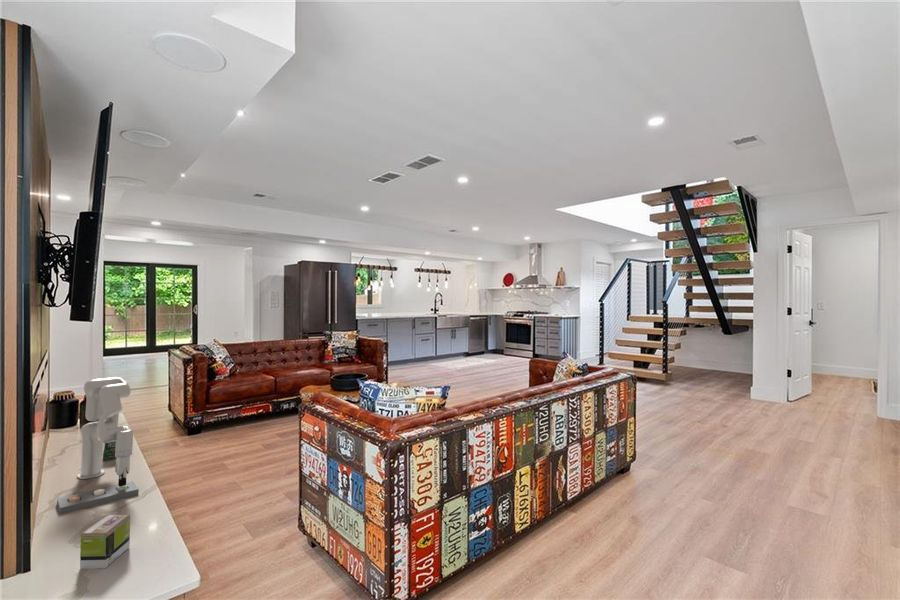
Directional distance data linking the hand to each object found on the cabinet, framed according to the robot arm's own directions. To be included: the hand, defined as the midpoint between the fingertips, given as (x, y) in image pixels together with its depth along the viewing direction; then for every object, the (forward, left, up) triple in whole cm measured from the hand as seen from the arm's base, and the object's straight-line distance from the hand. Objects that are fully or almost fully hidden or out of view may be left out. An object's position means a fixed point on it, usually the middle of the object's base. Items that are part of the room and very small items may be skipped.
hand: (122, 485), depth 235 cm
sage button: (0, 0, -4) cm, 4 cm away
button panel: (0, -10, -4) cm, 11 cm away
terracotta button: (0, -20, -4) cm, 20 cm away
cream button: (0, -10, -3) cm, 10 cm away
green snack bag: (-66, +6, -5) cm, 66 cm away
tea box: (+66, -17, -5) cm, 69 cm away
